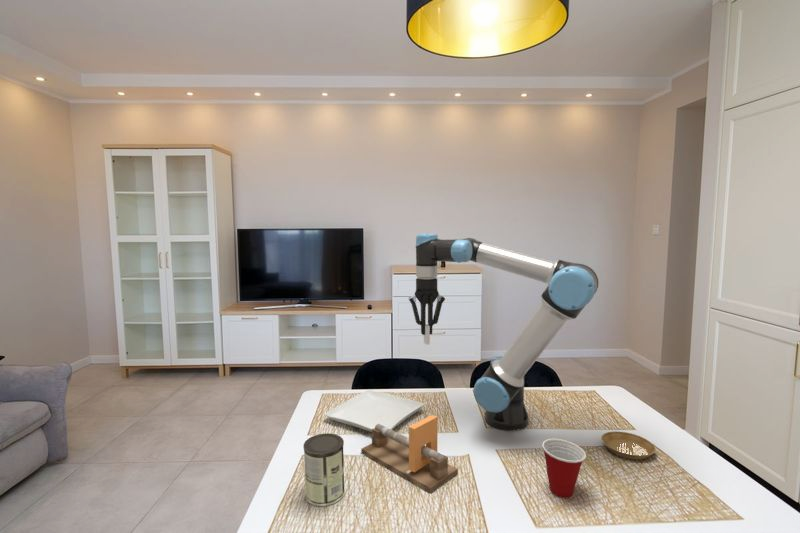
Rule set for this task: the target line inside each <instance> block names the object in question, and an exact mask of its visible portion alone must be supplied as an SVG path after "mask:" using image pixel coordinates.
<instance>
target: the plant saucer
mask: <svg viewBox="0 0 800 533" xmlns="http://www.w3.org/2000/svg"><path fill="white" fill-rule="evenodd" d="M601 441H602V443H603V444H604V446H605V447H606V448H607V449H608V450H609V451H610V452H611V453H613V454H614V453H615V455H616V456H618V455H619V457H620V458H621V457H622V458H624V459H627V458H628V460H634V459H636V461H637V460H639V459H640V460H643V459H644V460H645V459H646V458H647V459H648V457H649V458H650V457H651V456H652V455H653V454H654V453H655V451H656V447H655V445H654V444H653V443H652V442H651V441H649V440H648V439H646V438H644V437H642V436H640V435H637V434H635V433H630V432H625V431H619V430H618V431H616V430H615V431H608V432H605V433H603V434H602V435H601ZM623 443H624V447H625V443H626V449H627V447H628V448H629V454H626V453H627V450H626V453H622V449H621V452H619V447H620V444H621V448H622V444H623ZM633 443H634V444H635V446H636V444H637V445H639V446H640V447H643V448H644V449H646V450H647V452H648V455H643V453H642V455H641V456H639V455H633V453H634V452H633V448H632V445H633V447H635V446H634V444H633ZM617 447H618V451H617ZM630 450H631V452H632V455H630Z"/></svg>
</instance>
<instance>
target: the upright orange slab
mask: <svg viewBox="0 0 800 533" xmlns="http://www.w3.org/2000/svg"><path fill="white" fill-rule="evenodd" d="M408 438H409V470H411V471H412V472H416V471H418V470H419V469H421V468H422V467H424V466H425V465H427V464H429V463H430V458H428V457H426V456H424V455H422V456H421V447H422V446H424V445H425V446H426V447H428V448H430V449H432V450H434V451H436V452H438V416H436V415H434V414H431V415H429V416H427V417H424V418H422V419H421V420H419V421H417V422H415V423H413V424H411V425H410V426H408Z"/></svg>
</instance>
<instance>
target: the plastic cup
mask: <svg viewBox="0 0 800 533" xmlns="http://www.w3.org/2000/svg"><path fill="white" fill-rule="evenodd" d="M541 446H542V449H543V453H544V460H545V467H546V473H547V474H546V475H547V478H548V485H549V490H550V492H551V493H552V494H553V495H554V496H557V497H558V498H564V499H565V498H567V499H568V498H570V497H572V496H573V495H574V493H575V488H576V484H577V483H578V482H577V481H578V478H579V474H580V470H581V466H582V464H583V462H584V460H585V459H586V458H587V453H586V452H585V450H584V449H583V448H582V447H581V446H580V445H578V444H576V443H573V442H571V441H569V440H565V439H561V438H548V439H545V440H544V441H543V442H542V445H541Z"/></svg>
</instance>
